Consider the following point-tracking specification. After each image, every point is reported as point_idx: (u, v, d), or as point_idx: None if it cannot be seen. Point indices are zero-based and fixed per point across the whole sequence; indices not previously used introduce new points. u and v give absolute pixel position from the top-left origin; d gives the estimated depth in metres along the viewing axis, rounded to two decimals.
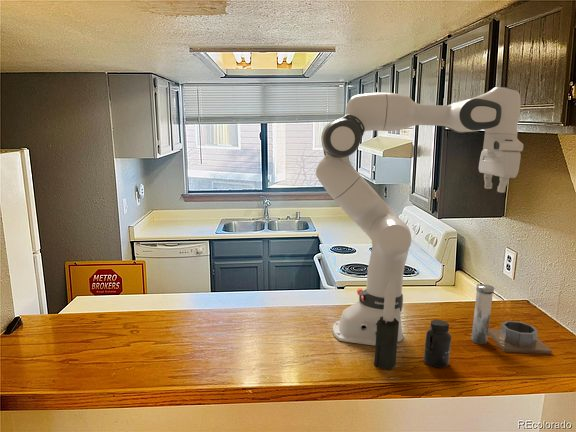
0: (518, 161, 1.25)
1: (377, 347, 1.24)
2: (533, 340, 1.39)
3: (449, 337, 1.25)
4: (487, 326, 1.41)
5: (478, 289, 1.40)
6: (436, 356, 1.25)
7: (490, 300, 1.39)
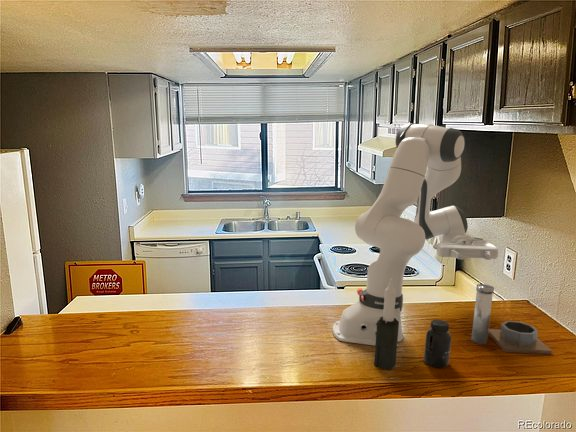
0: None
1: (377, 347, 1.24)
2: (533, 340, 1.39)
3: (449, 337, 1.25)
4: (487, 326, 1.41)
5: (478, 289, 1.40)
6: (436, 356, 1.25)
7: (490, 300, 1.39)
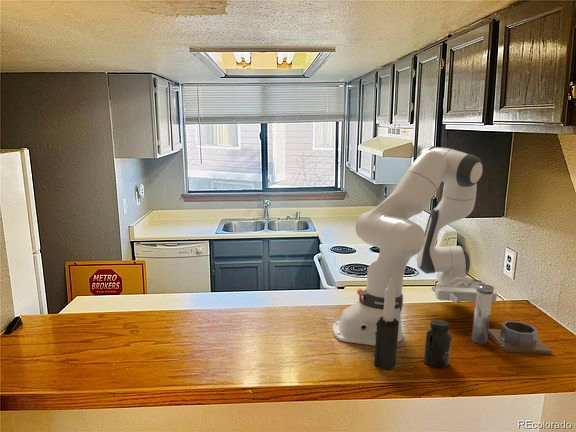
0: None
1: (377, 347, 1.24)
2: (533, 340, 1.39)
3: (449, 337, 1.25)
4: (487, 326, 1.41)
5: (478, 289, 1.40)
6: (436, 356, 1.25)
7: (490, 300, 1.39)
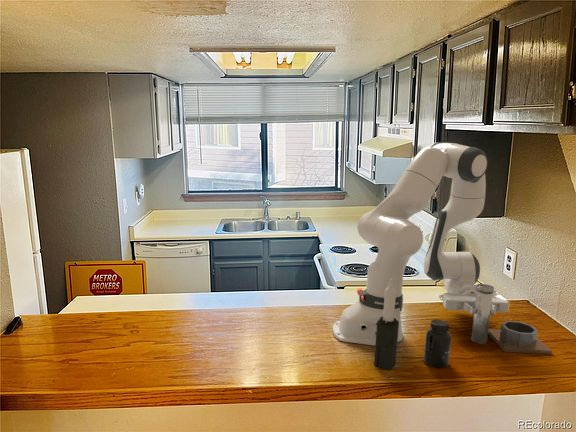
0: None
1: (377, 347, 1.24)
2: (533, 340, 1.39)
3: (449, 337, 1.25)
4: (487, 326, 1.41)
5: (478, 289, 1.40)
6: (436, 356, 1.25)
7: (490, 300, 1.39)
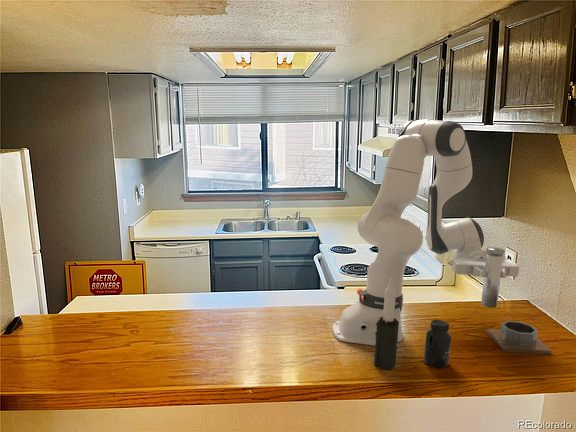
0: None
1: (377, 347, 1.24)
2: (533, 340, 1.39)
3: (449, 337, 1.25)
4: (497, 289, 1.39)
5: (488, 251, 1.38)
6: (436, 356, 1.25)
7: (500, 262, 1.37)
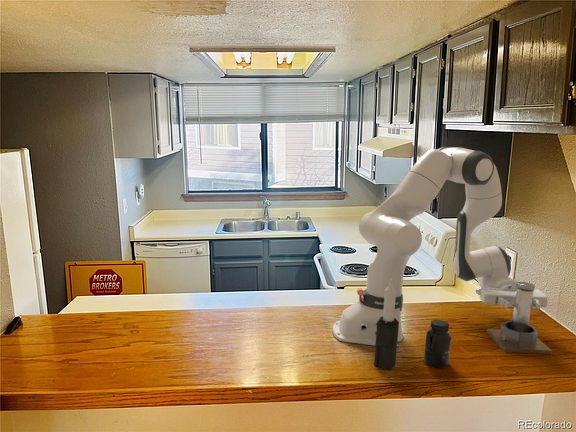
0: None
1: (377, 347, 1.24)
2: (533, 340, 1.39)
3: (449, 337, 1.25)
4: (527, 324, 1.40)
5: (519, 286, 1.40)
6: (436, 356, 1.25)
7: (531, 298, 1.39)
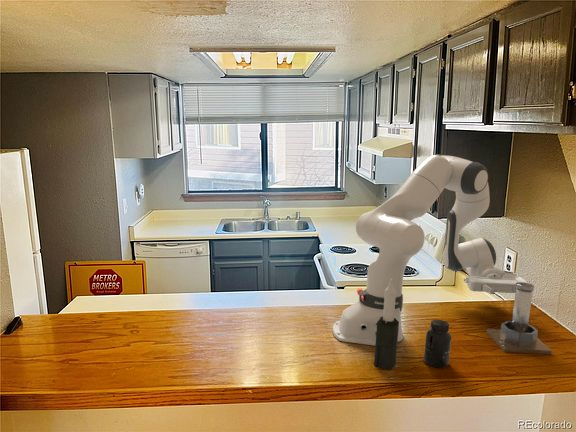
0: None
1: (377, 347, 1.24)
2: (533, 340, 1.39)
3: (449, 337, 1.25)
4: (527, 324, 1.40)
5: (518, 287, 1.39)
6: (436, 356, 1.25)
7: (530, 298, 1.39)
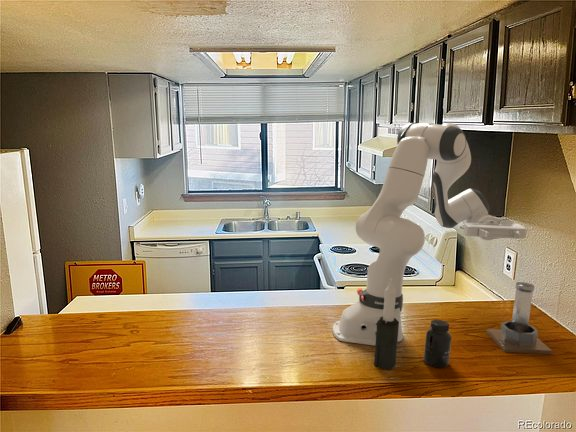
0: None
1: (377, 347, 1.24)
2: (533, 340, 1.39)
3: (449, 337, 1.25)
4: (527, 324, 1.40)
5: (518, 287, 1.39)
6: (436, 356, 1.25)
7: (530, 298, 1.39)
